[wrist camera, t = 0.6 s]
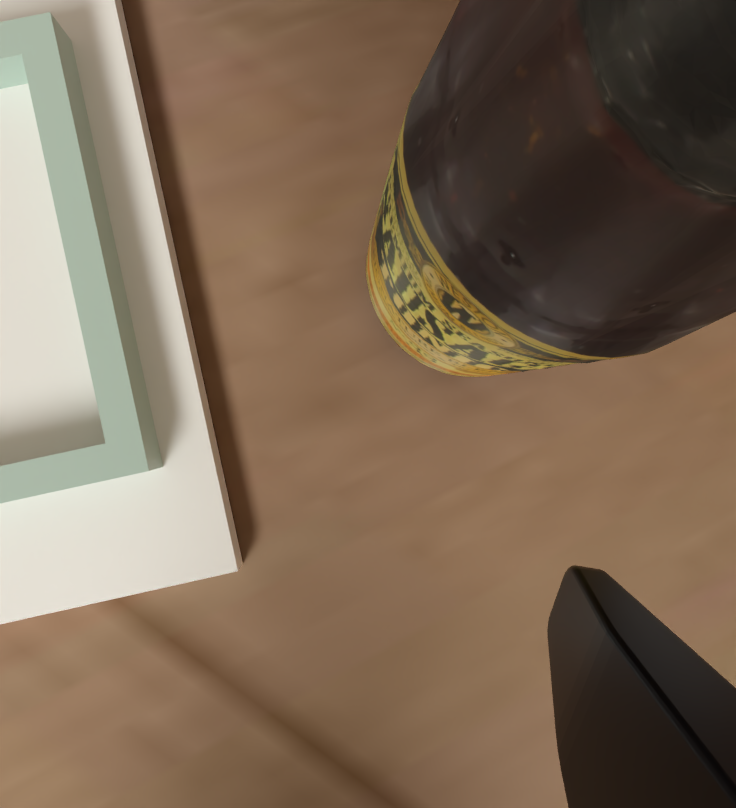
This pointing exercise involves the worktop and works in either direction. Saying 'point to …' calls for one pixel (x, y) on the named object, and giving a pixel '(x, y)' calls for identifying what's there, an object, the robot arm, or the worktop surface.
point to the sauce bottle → (562, 186)
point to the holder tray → (93, 333)
